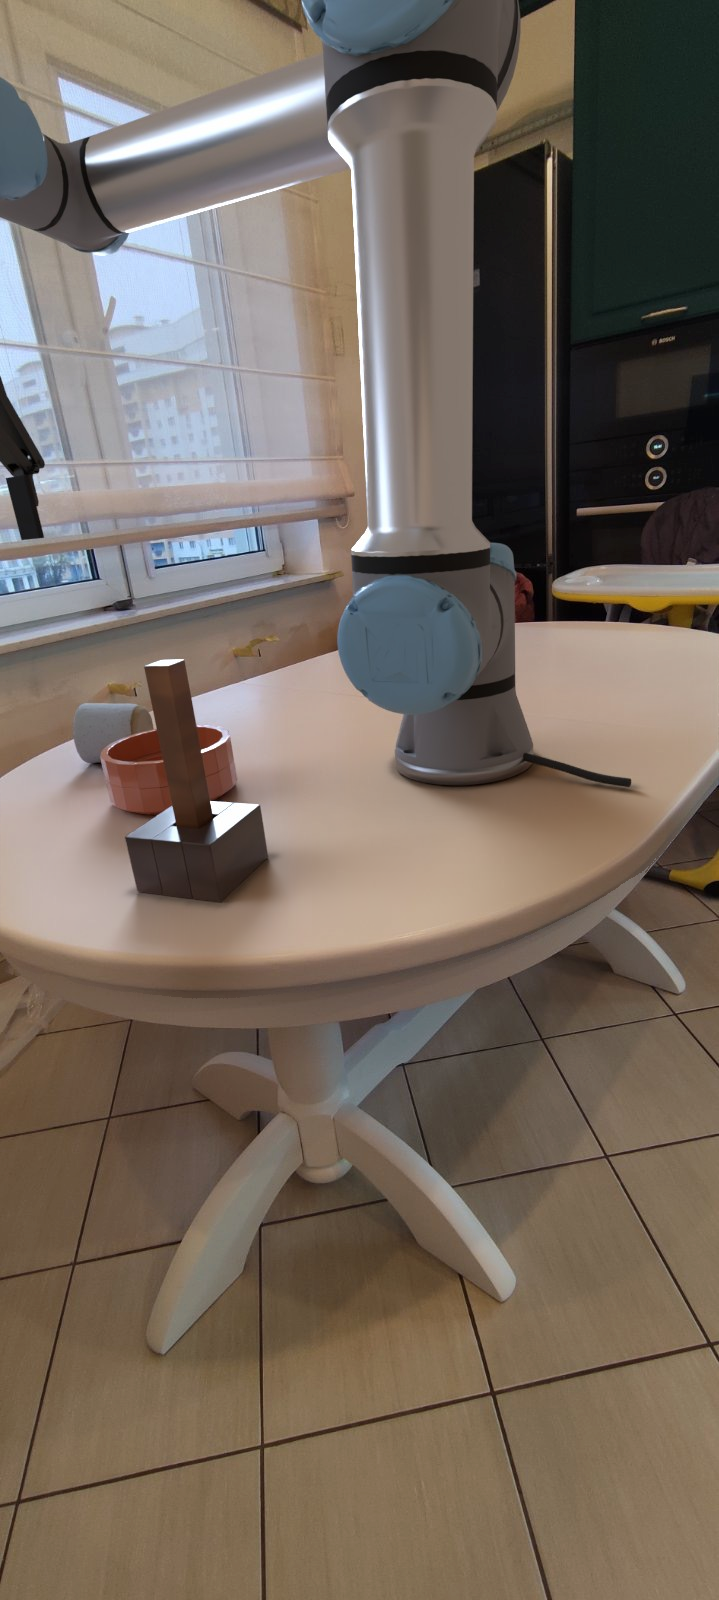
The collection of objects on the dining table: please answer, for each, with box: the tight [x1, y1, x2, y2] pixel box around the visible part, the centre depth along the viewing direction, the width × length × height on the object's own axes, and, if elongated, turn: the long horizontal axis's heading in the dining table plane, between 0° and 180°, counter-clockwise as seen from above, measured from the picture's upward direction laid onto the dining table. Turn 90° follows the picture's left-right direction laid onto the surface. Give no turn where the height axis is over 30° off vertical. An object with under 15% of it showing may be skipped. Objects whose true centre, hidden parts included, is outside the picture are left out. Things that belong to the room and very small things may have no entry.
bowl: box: [100, 724, 238, 815], centre depth 79 cm, size 14×14×6 cm
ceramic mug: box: [72, 702, 155, 764], centre depth 94 cm, size 11×8×8 cm
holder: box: [124, 800, 269, 903], centre depth 60 cm, size 8×8×5 cm
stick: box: [143, 659, 213, 829], centre depth 58 cm, size 2×2×18 cm
